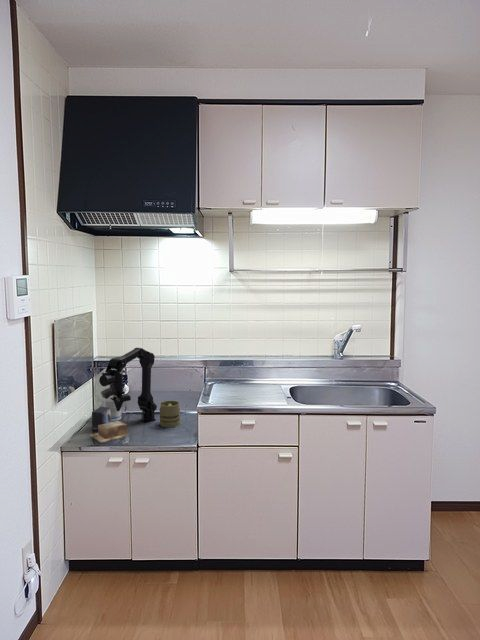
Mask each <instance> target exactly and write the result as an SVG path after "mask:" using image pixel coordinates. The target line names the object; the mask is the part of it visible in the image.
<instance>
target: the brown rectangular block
mask: <svg viewBox="0 0 480 640" xmlns="http://www.w3.org/2000/svg"><path fill="white" fill-rule="evenodd" d="M97 433H98V435H100V436H101V437H103V438H105V439H108V438H112V437H116V436H120V435H124V434H125V435H127V434H128V424H126V423H125V422H123V421H121V420H117V421H111V422H110V423H106V424H101V425H98V431H97Z"/></svg>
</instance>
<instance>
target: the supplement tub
mask: <svg viewBox="0 0 480 640" xmlns="http://www.w3.org/2000/svg"><path fill="white" fill-rule="evenodd" d="M110 398H111V396H110V397H109V398H107V399H105V398H103V407H110V408H111V422H115V421H121V419H122V408H121V409H120V411H117V410H116V407H115V404H114V401H113V400H111V399H110Z"/></svg>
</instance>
